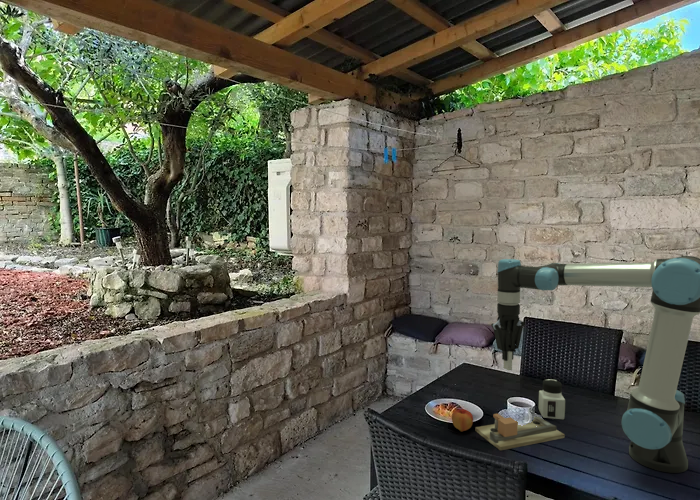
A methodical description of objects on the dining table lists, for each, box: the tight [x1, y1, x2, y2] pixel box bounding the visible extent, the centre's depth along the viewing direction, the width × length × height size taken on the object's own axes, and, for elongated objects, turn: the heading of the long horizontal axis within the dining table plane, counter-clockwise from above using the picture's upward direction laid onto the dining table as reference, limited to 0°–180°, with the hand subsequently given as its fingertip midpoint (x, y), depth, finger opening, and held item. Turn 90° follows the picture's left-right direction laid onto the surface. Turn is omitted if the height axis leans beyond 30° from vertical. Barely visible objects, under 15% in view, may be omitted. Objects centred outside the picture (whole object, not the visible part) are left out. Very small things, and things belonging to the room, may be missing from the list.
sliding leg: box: [492, 413, 518, 437], centre depth 152 cm, size 8×5×6 cm, turn 18°
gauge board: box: [474, 416, 566, 451], centre depth 155 cm, size 14×26×4 cm, turn 108°
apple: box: [451, 406, 474, 432], centre depth 158 cm, size 7×7×8 cm
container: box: [538, 378, 566, 420], centre depth 170 cm, size 8×8×13 cm
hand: (507, 368), depth 159 cm, fingers closed
